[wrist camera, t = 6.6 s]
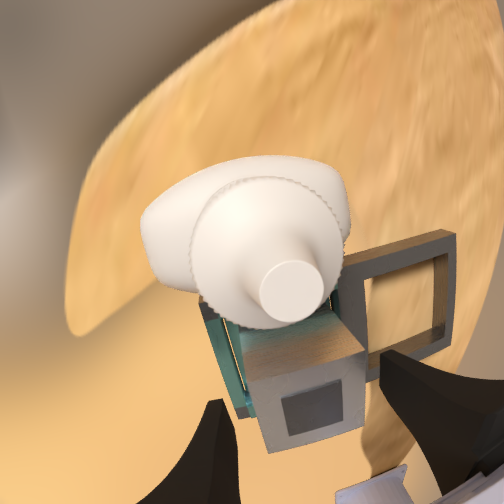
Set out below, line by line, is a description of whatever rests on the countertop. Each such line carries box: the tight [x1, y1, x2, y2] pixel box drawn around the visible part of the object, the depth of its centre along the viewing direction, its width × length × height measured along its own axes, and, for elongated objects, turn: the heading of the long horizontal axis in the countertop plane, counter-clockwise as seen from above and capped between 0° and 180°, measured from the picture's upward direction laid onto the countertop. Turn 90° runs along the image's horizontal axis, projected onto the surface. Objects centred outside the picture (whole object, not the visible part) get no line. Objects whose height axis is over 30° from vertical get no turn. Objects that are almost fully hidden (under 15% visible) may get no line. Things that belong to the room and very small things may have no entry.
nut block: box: [238, 302, 366, 454], centre depth 14 cm, size 4×4×6 cm
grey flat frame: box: [199, 229, 456, 419], centre depth 16 cm, size 8×15×2 cm, turn 103°
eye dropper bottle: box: [140, 155, 351, 330], centre depth 9 cm, size 4×6×12 cm
